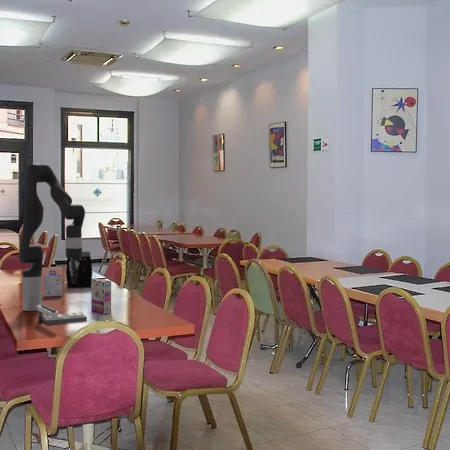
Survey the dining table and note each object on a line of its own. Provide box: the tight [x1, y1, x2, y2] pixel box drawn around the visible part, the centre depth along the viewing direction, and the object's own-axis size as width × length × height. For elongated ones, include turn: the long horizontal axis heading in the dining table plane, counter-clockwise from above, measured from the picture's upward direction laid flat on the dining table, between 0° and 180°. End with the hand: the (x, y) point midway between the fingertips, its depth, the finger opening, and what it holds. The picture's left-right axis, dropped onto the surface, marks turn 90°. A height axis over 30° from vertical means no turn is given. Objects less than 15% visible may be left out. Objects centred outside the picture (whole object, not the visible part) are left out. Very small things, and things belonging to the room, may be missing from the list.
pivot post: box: [37, 310, 44, 324], centre depth 274 cm, size 2×2×6 cm
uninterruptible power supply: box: [65, 251, 93, 289], centre depth 389 cm, size 16×34×20 cm, turn 14°
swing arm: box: [37, 303, 59, 317], centre depth 266 cm, size 22×3×3 cm, turn 35°
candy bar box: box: [90, 278, 112, 315], centre depth 297 cm, size 11×5×16 cm, turn 45°
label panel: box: [43, 311, 88, 326], centre depth 278 cm, size 12×18×3 cm, turn 116°
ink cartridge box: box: [43, 270, 63, 297], centre depth 346 cm, size 10×6×14 cm, turn 114°
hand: (74, 283), depth 280 cm, fingers closed
